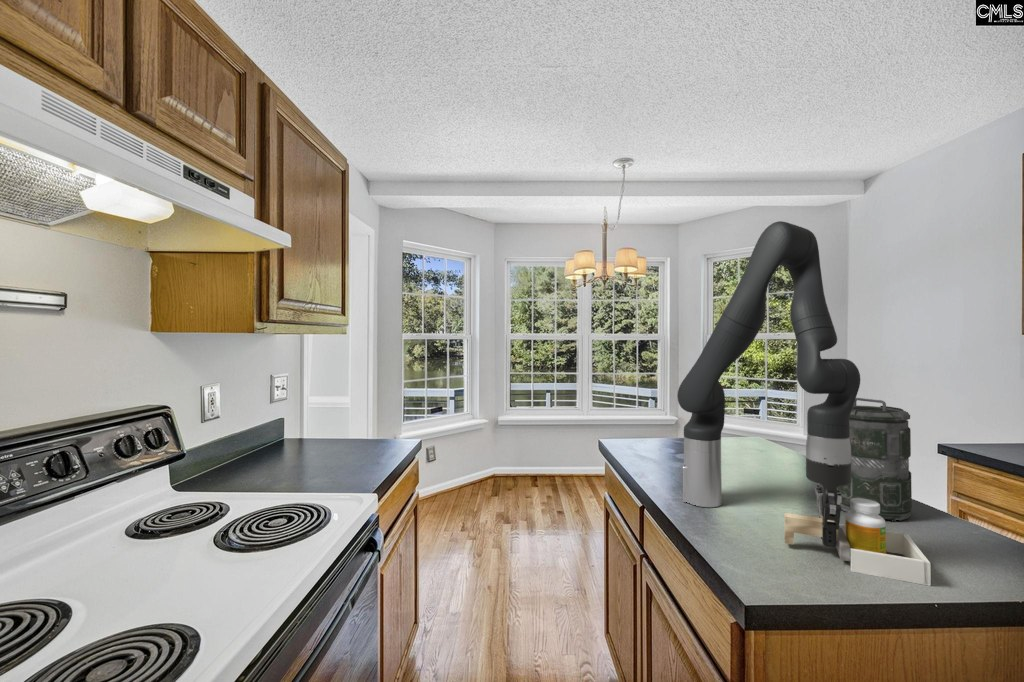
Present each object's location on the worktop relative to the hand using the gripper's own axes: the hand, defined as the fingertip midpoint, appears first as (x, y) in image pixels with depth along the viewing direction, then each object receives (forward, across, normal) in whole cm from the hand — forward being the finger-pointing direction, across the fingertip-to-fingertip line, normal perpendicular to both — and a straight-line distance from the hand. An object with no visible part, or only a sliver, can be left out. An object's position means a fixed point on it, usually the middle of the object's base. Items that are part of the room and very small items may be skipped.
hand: (828, 542), depth 92 cm
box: (+2, 0, +8) cm, 8 cm away
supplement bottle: (+2, 0, +6) cm, 6 cm away
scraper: (+1, 0, -2) cm, 3 cm away
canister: (+2, -33, +12) cm, 35 cm away
